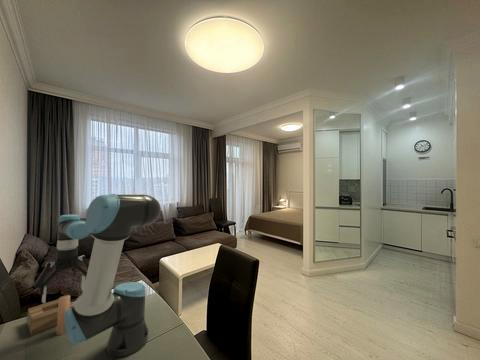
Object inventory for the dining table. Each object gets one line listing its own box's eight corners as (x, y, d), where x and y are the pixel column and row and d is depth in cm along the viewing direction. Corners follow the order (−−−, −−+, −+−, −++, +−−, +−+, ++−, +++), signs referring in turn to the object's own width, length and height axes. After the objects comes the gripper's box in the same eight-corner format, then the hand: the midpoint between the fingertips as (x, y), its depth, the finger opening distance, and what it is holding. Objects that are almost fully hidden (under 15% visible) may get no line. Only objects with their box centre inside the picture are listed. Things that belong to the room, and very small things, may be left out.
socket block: (72, 320, 96) (73, 305, 97) (31, 336, 85) (32, 319, 86) (65, 310, 105) (66, 296, 105) (27, 324, 94) (28, 308, 94)
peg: (69, 331, 89) (71, 296, 90) (57, 336, 85) (59, 300, 87) (67, 327, 91) (69, 294, 92) (55, 332, 88) (57, 297, 89)
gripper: (96, 241, 103) (94, 283, 102) (27, 253, 84) (23, 304, 82) (101, 244, 99) (99, 287, 97) (29, 256, 79) (25, 311, 77)
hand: (64, 295), depth 90 cm, fingers open, 13 cm apart
